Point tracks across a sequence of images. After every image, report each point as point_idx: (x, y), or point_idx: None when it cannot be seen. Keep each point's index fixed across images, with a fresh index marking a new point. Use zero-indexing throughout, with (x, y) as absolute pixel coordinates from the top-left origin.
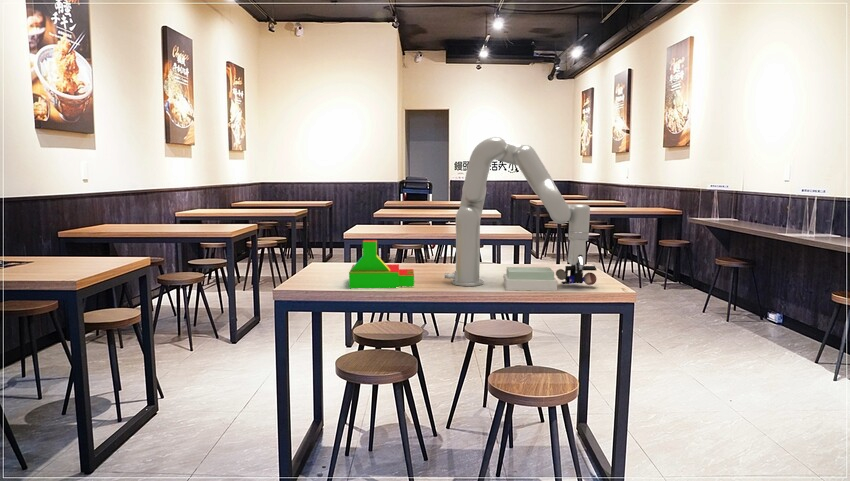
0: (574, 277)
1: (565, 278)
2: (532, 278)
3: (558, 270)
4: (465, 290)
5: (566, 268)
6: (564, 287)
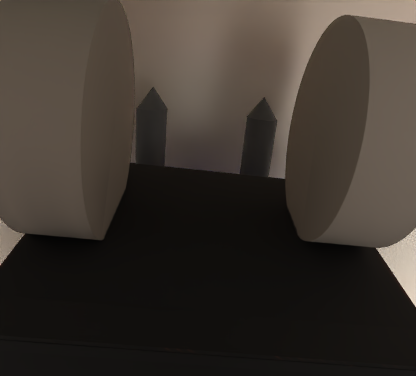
0: None
1: (164, 179)
2: None
3: (365, 98)
4: None
5: (30, 343)
6: (135, 118)
